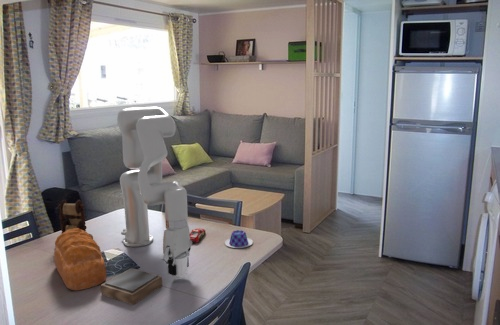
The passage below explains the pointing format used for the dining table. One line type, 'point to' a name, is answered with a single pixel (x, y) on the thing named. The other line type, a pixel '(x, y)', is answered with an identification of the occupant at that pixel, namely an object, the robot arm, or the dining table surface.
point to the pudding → (238, 240)
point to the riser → (131, 286)
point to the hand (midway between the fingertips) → (178, 269)
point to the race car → (197, 234)
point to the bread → (79, 260)
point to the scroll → (72, 216)
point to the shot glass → (181, 264)
